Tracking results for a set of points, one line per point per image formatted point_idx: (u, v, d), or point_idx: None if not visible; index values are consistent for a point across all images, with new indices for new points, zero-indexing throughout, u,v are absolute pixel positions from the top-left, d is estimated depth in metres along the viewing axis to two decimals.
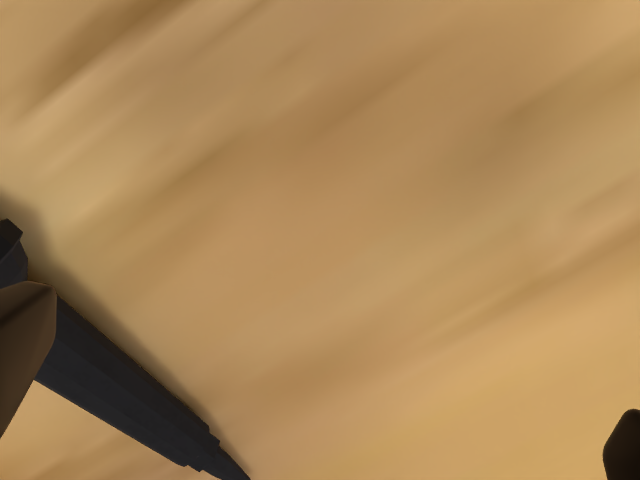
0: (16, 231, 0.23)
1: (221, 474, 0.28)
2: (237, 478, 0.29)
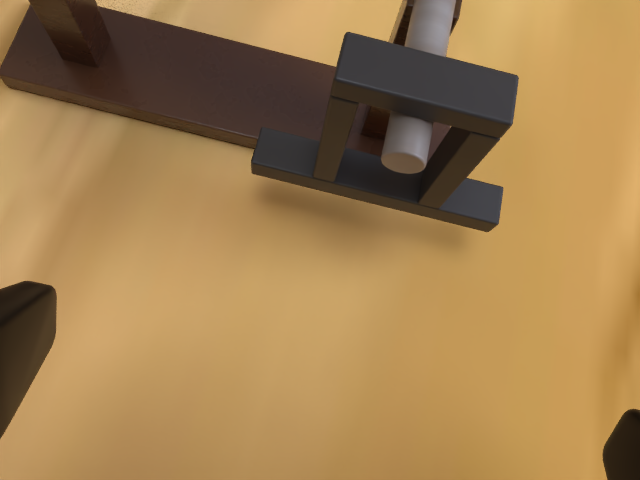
0: None
1: None
2: None
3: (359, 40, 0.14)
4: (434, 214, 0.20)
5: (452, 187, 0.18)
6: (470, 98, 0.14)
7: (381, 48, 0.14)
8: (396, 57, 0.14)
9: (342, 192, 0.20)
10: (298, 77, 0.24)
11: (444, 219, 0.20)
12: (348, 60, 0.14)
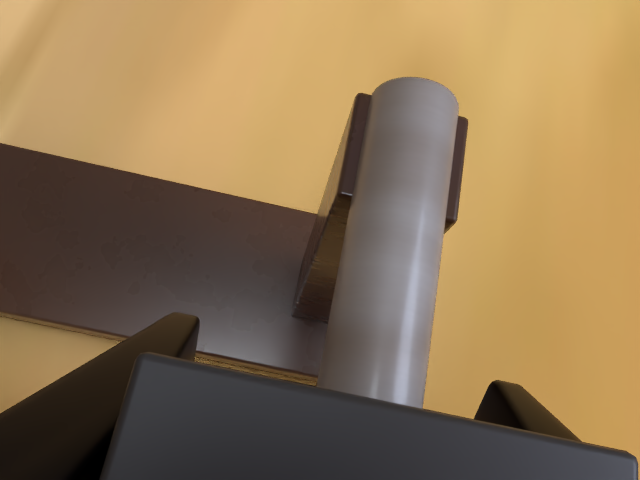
0: None
1: None
2: None
3: (174, 385, 0.05)
4: None
5: None
6: None
7: (242, 406, 0.05)
8: (286, 433, 0.05)
9: None
10: (189, 220, 0.15)
11: None
12: (135, 460, 0.04)
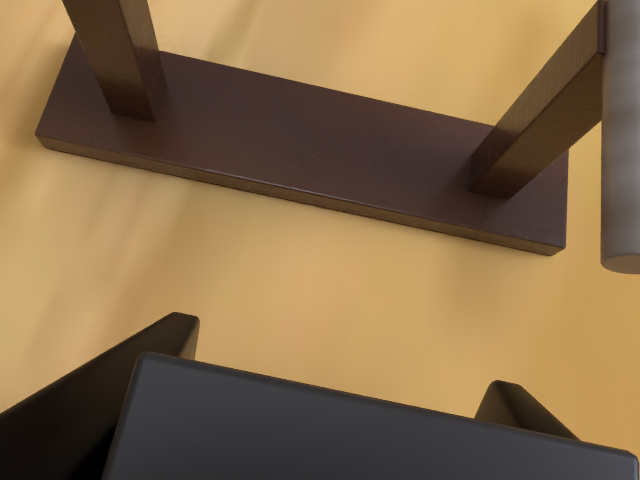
0: None
1: None
2: None
3: (175, 385, 0.05)
4: None
5: None
6: None
7: (243, 406, 0.05)
8: (287, 432, 0.05)
9: None
10: (390, 125, 0.21)
11: None
12: (137, 459, 0.05)
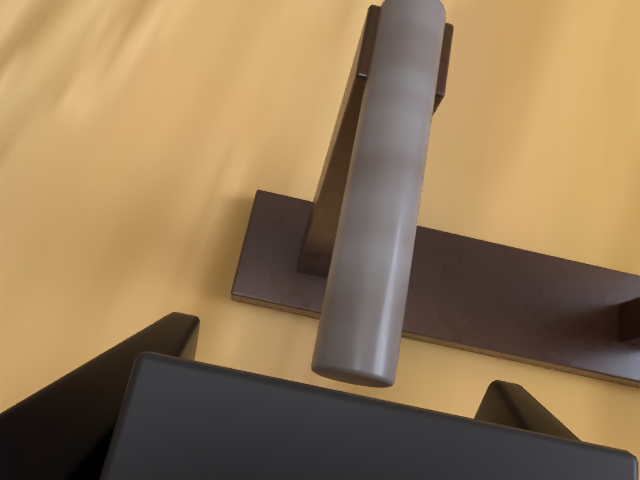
0: None
1: None
2: None
3: (174, 385, 0.05)
4: None
5: None
6: None
7: (242, 406, 0.05)
8: (286, 433, 0.05)
9: None
10: (544, 277, 0.22)
11: None
12: (135, 459, 0.04)
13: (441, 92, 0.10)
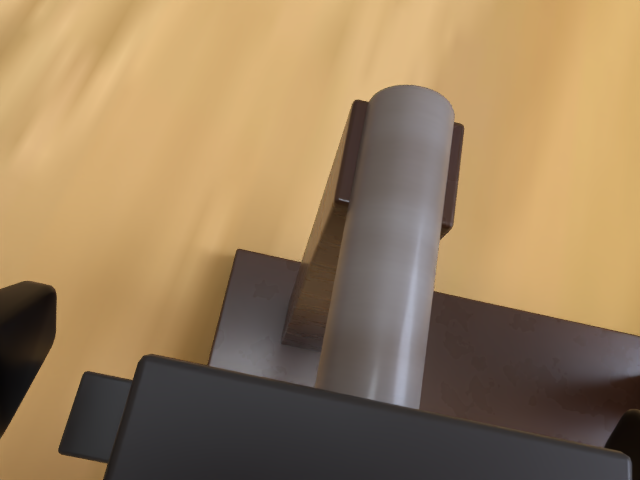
0: None
1: None
2: None
3: (176, 387, 0.05)
4: None
5: None
6: None
7: (243, 407, 0.05)
8: (286, 433, 0.05)
9: None
10: (559, 346, 0.20)
11: None
12: (139, 460, 0.05)
13: (449, 223, 0.07)
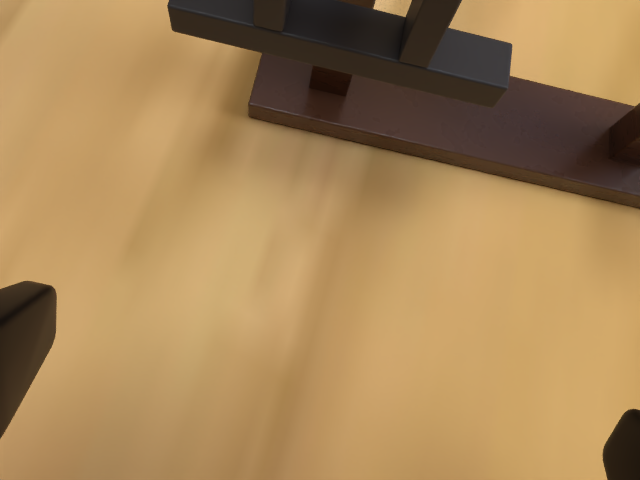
0: None
1: None
2: None
3: None
4: (420, 82, 0.15)
5: (446, 14, 0.12)
6: None
7: None
8: None
9: (296, 51, 0.15)
10: (539, 102, 0.24)
11: (434, 89, 0.15)
12: None
13: None
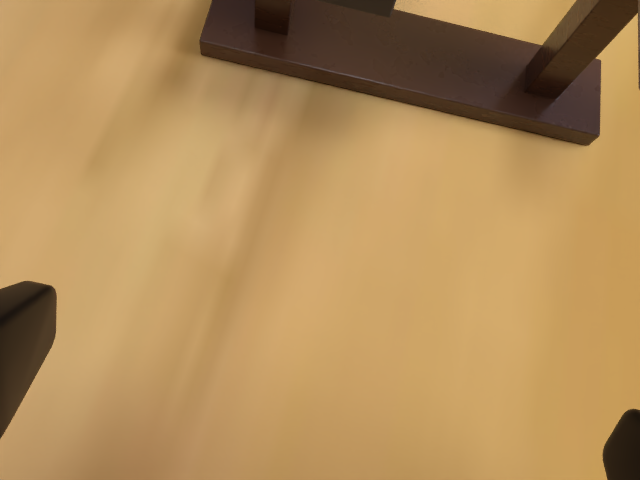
0: None
1: None
2: None
3: None
4: None
5: None
6: None
7: None
8: None
9: None
10: (463, 43, 0.27)
11: (338, 1, 0.18)
12: None
13: None
